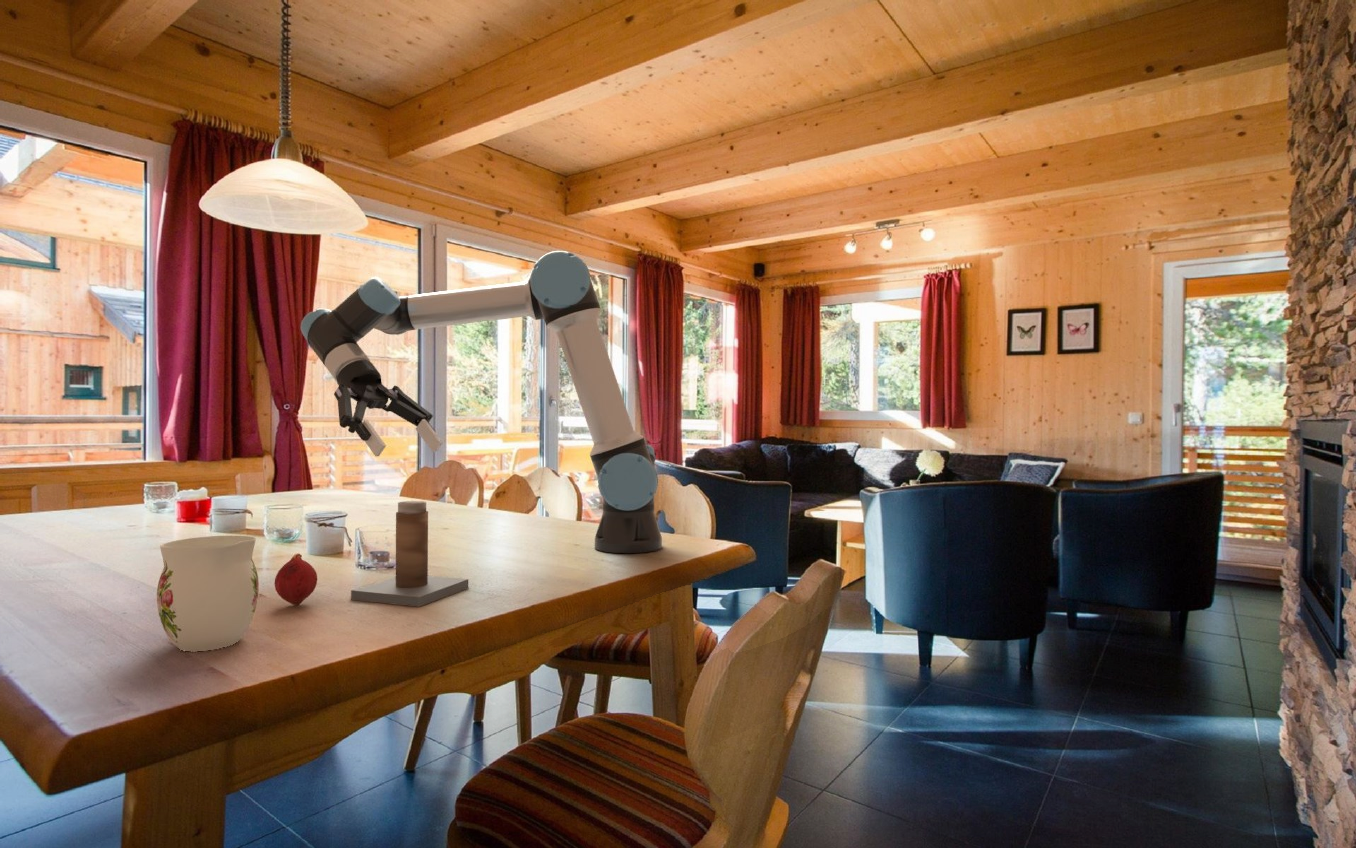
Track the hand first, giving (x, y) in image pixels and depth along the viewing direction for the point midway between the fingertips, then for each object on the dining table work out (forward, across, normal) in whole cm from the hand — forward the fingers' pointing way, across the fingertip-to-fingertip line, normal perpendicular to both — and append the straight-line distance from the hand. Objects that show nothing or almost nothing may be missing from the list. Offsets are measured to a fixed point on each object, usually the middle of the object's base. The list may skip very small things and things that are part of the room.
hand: (410, 449), depth 136 cm
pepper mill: (+24, +12, -7) cm, 28 cm away
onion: (+18, +25, -15) cm, 34 cm away
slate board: (+25, +12, -8) cm, 29 cm away
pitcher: (+23, +43, -10) cm, 49 cm away
